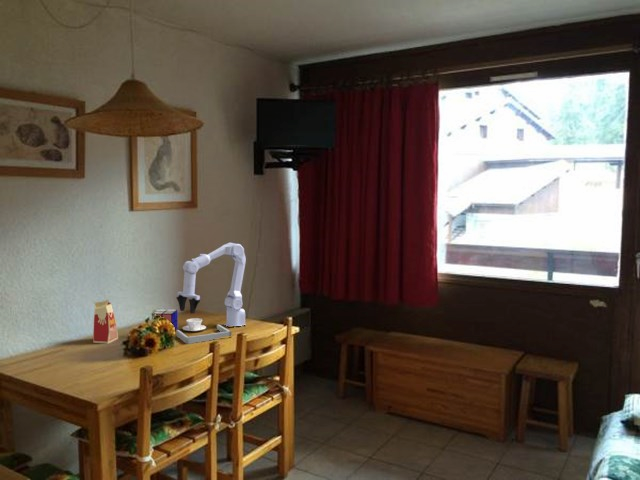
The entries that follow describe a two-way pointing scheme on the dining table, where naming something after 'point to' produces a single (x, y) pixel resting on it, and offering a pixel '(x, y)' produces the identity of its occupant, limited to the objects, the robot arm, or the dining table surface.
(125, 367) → the dining table surface
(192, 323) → the teacup
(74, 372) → the dining table surface
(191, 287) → the robot arm
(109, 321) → the milk carton
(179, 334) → the tray
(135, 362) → the dining table surface
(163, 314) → the puzzle cube
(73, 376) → the dining table surface
